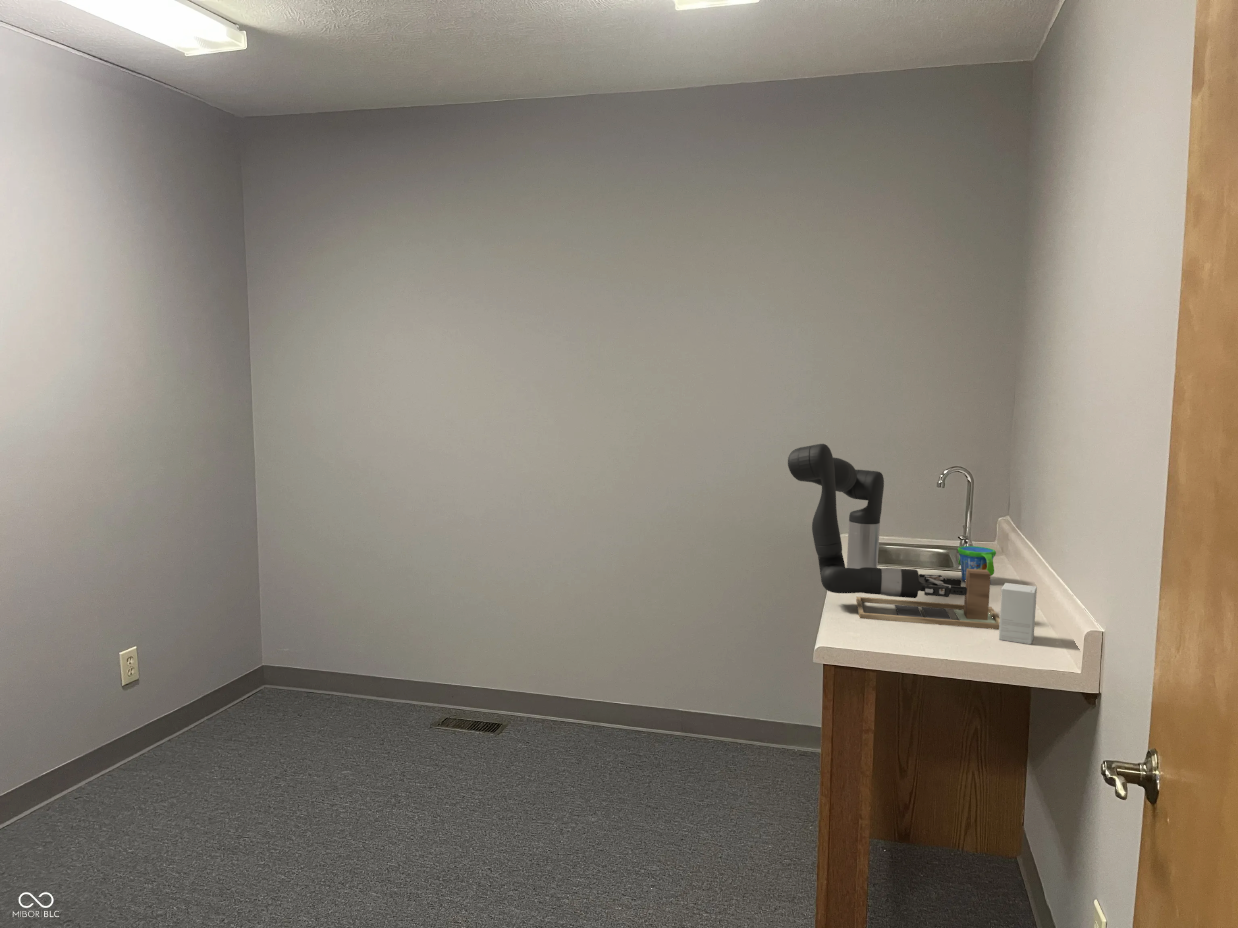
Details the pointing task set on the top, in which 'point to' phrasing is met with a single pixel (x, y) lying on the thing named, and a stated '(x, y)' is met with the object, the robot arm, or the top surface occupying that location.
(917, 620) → the tray
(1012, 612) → the supplement box
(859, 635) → the top surface
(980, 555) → the snack cup
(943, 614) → the trap squares
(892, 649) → the top surface
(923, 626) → the top surface
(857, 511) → the robot arm
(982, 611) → the walnut block
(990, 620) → the pad
